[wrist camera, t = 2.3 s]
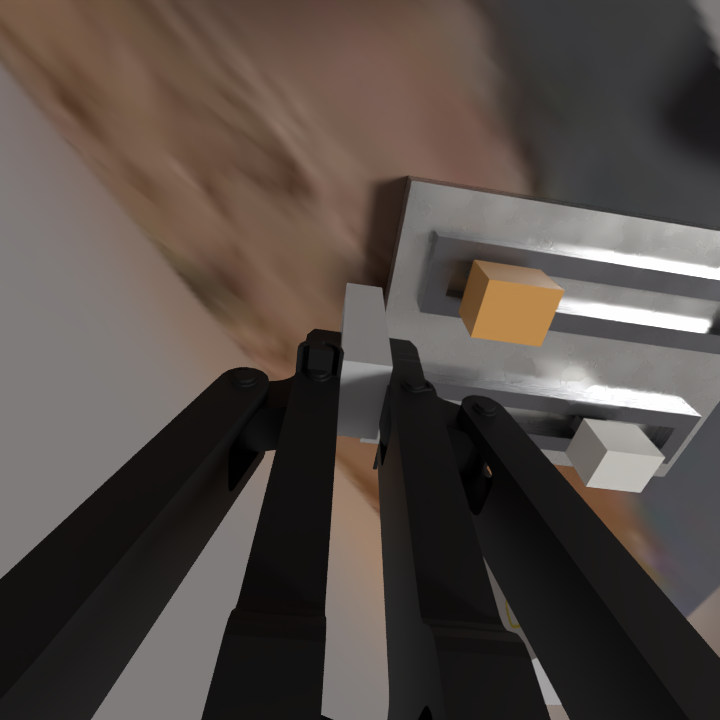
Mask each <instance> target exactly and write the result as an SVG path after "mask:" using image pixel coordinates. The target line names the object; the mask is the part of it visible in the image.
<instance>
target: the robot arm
mask: <svg viewBox="0 0 720 720" xmlns="http://www.w3.org/2000/svg"><path fill="white" fill-rule="evenodd" d="M379 430H380V440H379V444H378V449H377V453H376V457H375V462H374V466H373V469H377V466H378V480H379V500H380V520H381V537H382V558H383V577H384V578H383V579H384V598H385V616H386V617H385V618H386V638H387V657H388V678H389V711H388V719H387V720H551V719H550V716H549V713H548V710H547V707H546V704H545V701H544V697H543V694H542V691H541V688H540V685H539V682H538V679H537V675H536V672H535V669H534V666H533V663H532V660H531V657H530V655H529V652H528V650H527V647H526V645H525V643H524V641H523V640H522V639H521V638H520V636H519V635H518V634H517V633H514V632H511V631H508V630H507V629H506V628H505V627H504V625H503V623H502V620H501V618H500V615H499V611H498V607H497V604H496V600H495V597H494V593H493V590H492V586H491V583H490V579H489V576H488V572H487V569H486V565H485V562H484V559H485V561H486V563H487V564H488V566H489V568H490V570H491V572H492V574H493V576H494V578H495V580H496V581H497V583H498V585H499V587H500V589H501V591H502V593H503V595H504V596H505V598H506V600H507V602H508V604H509V606H510V608H511V610H512V612H513V613H514V615H515V617H516V619H517V621H518V623H519V625H520V627H521V628H522V630H523V632H524V634H525V636H526V638H527V640H528V642H529V644H530V645H531V647H532V649H533V651H534V653H535V655H536V657H537V659H538V660H539V662H540V664H541V666H542V668H543V670H544V672H545V674H546V676H547V677H548V679H549V681H550V683H551V685H552V687H553V689H554V691H555V692H556V694H557V696H558V698H559V700H560V702H561V704H562V706H563V708H564V709H565V711H566V713H567V715H568V717H569V719H570V720H720V658H719V657H718V655H717V654H716V653H715V652H714V651H713V650H712V649H711V647H710V646H709V645H708V644H707V643H706V642H705V640H704V639H703V638H702V637H701V636H700V635H699V634H698V632H697V631H696V630H695V629H694V628H693V626H692V625H691V624H690V623H689V622H688V621H687V619H686V618H685V617H684V616H683V615H682V614H681V612H680V611H679V610H678V609H677V608H676V607H675V606H674V604H673V603H672V602H671V601H670V600H669V599H668V597H667V596H666V595H665V594H664V593H663V592H662V590H661V589H660V588H659V587H658V586H657V585H656V583H655V582H654V581H653V580H652V579H651V578H650V576H649V575H648V574H647V573H646V572H645V571H644V570H643V568H642V567H641V566H640V565H639V564H638V563H637V561H636V560H635V559H634V558H633V557H632V556H631V554H630V553H629V552H628V551H627V550H626V549H625V547H624V546H623V545H622V544H621V543H620V542H619V540H618V539H617V538H616V537H615V536H614V535H613V534H612V532H611V531H610V530H609V529H608V528H607V527H606V525H605V524H604V523H603V522H602V521H601V520H600V518H599V517H598V516H597V515H596V514H595V513H594V511H593V510H592V509H591V508H590V507H589V506H588V504H587V503H586V502H585V501H584V500H583V499H582V498H581V496H580V495H579V494H578V493H577V492H576V491H575V489H574V488H573V487H572V486H571V485H570V484H569V482H568V481H567V480H566V479H565V478H564V477H563V475H562V474H561V473H560V472H559V471H558V470H557V468H556V467H555V466H554V465H553V464H552V463H551V462H550V460H549V459H548V458H547V457H546V456H545V455H544V453H543V452H542V451H541V450H540V449H539V448H538V446H537V445H536V444H535V443H534V442H533V441H532V439H531V438H530V437H529V436H528V435H527V434H526V432H525V431H524V430H523V429H522V428H521V427H520V426H519V424H518V423H517V422H516V421H515V420H514V419H513V417H512V416H511V415H510V414H509V413H508V412H507V410H506V409H505V408H504V407H503V406H502V405H500V404H499V403H498V402H496V401H494V400H492V399H491V398H488V397H485V396H479V395H471V396H466V397H465V398H463V399H462V402H461V405H459V404H455V403H452V402H449V401H446V400H444V399H441V398H440V397H438V396H437V393H436V389H435V388H434V386H433V384H431V383H430V382H429V381H428V380H426V379H425V377H424V373H423V369H422V365H421V363H420V358H419V354H418V350H417V347H416V346H415V345H414V344H413V343H412V342H411V341H409V340H402V339H395V338H389V335H388V328H387V320H386V313H385V306H384V299H383V292H382V288H381V287H374V286H367V285H360V284H353V283H347V285H346V292H345V299H344V306H343V313H342V321H341V328H340V332H335V331H328V330H320V329H314V330H312V331H311V332H310V333H309V334H307V338H306V341H304V342H302V343H300V345H299V346H298V351H297V363H296V373H295V375H294V376H292V377H290V378H288V379H285V380H279V381H269V379H268V376H267V375H266V374H265V373H264V372H262V371H260V370H257V369H255V368H249V367H239V368H234V369H231V370H228V371H226V372H225V373H223V374H222V375H221V376H220V377H219V378H218V379H216V380H215V381H214V382H213V383H212V384H211V385H210V386H209V387H208V388H207V389H206V390H204V391H203V392H202V393H201V394H200V395H199V396H198V397H197V398H196V399H195V400H194V401H192V402H191V403H190V404H189V405H188V406H187V407H186V408H185V409H184V410H183V411H182V412H181V413H180V414H178V416H176V417H175V418H174V419H173V420H172V421H171V422H170V423H169V424H168V425H167V426H165V427H164V428H163V429H162V430H161V431H160V432H159V433H158V434H157V435H156V436H155V437H154V438H152V439H151V440H150V441H149V442H148V443H147V444H146V445H145V446H144V447H143V448H142V449H141V450H140V451H138V452H137V454H135V455H134V456H133V457H132V458H131V459H130V460H129V461H128V462H127V463H126V464H124V465H123V466H122V467H121V468H120V469H119V470H118V471H117V472H116V473H115V474H114V475H113V476H112V477H110V478H109V479H108V480H107V481H106V482H105V483H104V484H103V485H102V486H101V487H100V488H99V489H97V491H95V492H94V493H93V494H92V495H91V496H90V497H89V498H88V499H87V500H85V502H83V503H82V504H81V505H80V506H79V507H78V508H77V509H76V510H75V511H74V512H73V513H72V514H70V515H69V516H68V517H67V518H66V519H65V520H64V521H63V522H62V523H61V524H60V525H58V527H57V528H55V529H54V530H53V531H52V532H51V533H50V534H49V535H48V536H47V537H46V538H44V539H43V540H42V541H41V542H40V543H39V544H38V545H37V546H36V547H35V548H34V549H33V550H31V551H30V552H29V553H28V554H27V555H26V556H25V557H24V558H23V559H22V560H21V561H20V562H19V563H17V565H15V566H14V567H13V568H12V569H11V570H10V571H9V572H8V573H7V574H6V575H5V576H3V577H2V578H1V579H0V720H91V718H92V717H93V715H94V714H95V712H96V711H97V709H98V708H99V706H100V705H101V703H102V702H103V700H104V699H105V697H106V696H107V694H108V692H109V691H110V690H111V688H112V687H113V685H114V684H115V682H116V680H117V679H118V678H119V676H120V674H121V673H122V671H123V670H124V669H125V667H126V665H127V664H128V662H129V661H130V659H131V658H132V656H133V655H134V653H135V652H136V650H137V649H138V647H139V646H140V644H141V643H142V641H143V640H144V638H145V637H146V635H147V634H148V632H149V631H150V629H151V628H152V626H153V624H154V623H155V622H156V620H157V618H158V617H159V615H160V614H161V612H162V611H163V609H164V608H165V606H166V605H167V603H168V602H169V600H170V599H171V597H172V596H173V594H174V593H175V591H176V590H177V588H178V587H179V585H180V584H181V582H182V581H183V579H184V577H185V576H186V575H187V573H188V572H189V570H190V568H191V567H192V565H193V564H194V562H195V561H196V559H197V558H198V556H199V555H200V553H201V552H202V550H203V549H204V547H205V546H206V544H207V543H208V541H209V540H210V538H211V537H212V535H213V534H214V532H215V531H216V529H217V527H218V526H219V525H220V523H221V522H222V520H223V518H224V517H225V515H226V514H227V512H228V511H229V509H230V508H231V506H232V505H233V503H234V502H235V500H236V499H237V497H238V495H239V494H240V493H241V491H242V490H243V488H244V487H245V485H246V484H247V482H248V480H249V479H250V478H251V476H252V475H253V473H254V471H255V470H256V468H257V467H258V465H259V464H260V462H261V461H262V459H263V458H264V455H265V451H270V450H276V452H275V456H274V460H273V464H272V468H271V472H270V476H269V480H268V484H267V488H266V492H265V496H264V500H263V504H262V508H261V512H260V516H259V520H258V524H257V528H256V532H255V536H254V540H253V544H252V548H251V552H250V557H249V560H248V563H247V567H246V572H245V576H244V579H243V583H242V587H241V591H240V596H239V599H238V602H237V605H236V608H235V609H233V610H232V611H231V614H230V616H229V618H228V622H227V625H226V628H225V632H224V635H223V639H222V643H221V647H220V650H219V654H218V658H217V662H216V666H215V670H214V673H213V678H212V681H211V685H210V688H209V692H208V696H207V700H206V704H205V708H204V711H203V715H202V719H201V720H333V719H330V718H327V717H325V716H323V715H321V706H322V691H323V690H322V689H323V675H324V659H325V642H326V617H325V600H326V585H327V571H328V556H329V541H330V527H331V512H332V497H333V483H334V468H335V453H336V439H337V435H339V436H347V437H356V438H365V439H373V440H377V436H378V432H379ZM487 466H489V468H490V470H491V473H492V475H491V474H490V473H489V471H488V470H487ZM483 557H484V558H483Z"/></svg>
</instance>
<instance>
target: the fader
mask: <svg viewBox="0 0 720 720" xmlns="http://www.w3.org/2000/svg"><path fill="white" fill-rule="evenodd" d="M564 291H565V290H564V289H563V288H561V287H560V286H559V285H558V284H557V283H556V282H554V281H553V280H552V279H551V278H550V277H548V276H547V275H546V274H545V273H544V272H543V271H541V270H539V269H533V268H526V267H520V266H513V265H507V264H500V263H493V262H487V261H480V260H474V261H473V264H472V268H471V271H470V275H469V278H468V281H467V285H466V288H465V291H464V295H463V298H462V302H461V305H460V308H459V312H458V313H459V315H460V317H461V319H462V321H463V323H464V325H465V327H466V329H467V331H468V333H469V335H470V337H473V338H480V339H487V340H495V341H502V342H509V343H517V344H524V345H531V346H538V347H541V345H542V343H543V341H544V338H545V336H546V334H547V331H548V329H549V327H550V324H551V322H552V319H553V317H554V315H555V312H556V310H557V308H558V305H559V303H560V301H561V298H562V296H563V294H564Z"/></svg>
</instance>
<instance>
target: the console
mask: <svg viewBox="0 0 720 720" xmlns="http://www.w3.org/2000/svg"><path fill="white" fill-rule="evenodd" d="M474 260H480V261H487V262H493V263H500V264H507V265H513V266H520V267H526V268H533V269H539V270H541V271H543V272H544V273H545V274H546V275H547V276H548V277H550V278H551V279H552V280H553V281H554V282H556V283H557V284H558V285H559V286H560V287H561V288H563V289H564V290H565V291H564V294H563V296H562V298H561V301H560V303H559V305H558V308H557V310H556V312H555V315H554V317H553V319H552V322H551V324H550V327H549V329H548V331H547V334H546V336H545V338H544V341H543V343H542V345H541V347H538V346H531V345H524V344H517V343H509V342H502V341H495V340H487V339H480V338H473V337H470V335H469V333H468V331H467V329H466V327H465V325H464V323H463V321H462V319H461V317H460V315H459V313H458V312H459V308H460V305H461V302H462V298H463V295H464V291H465V288H466V285H467V281H468V278H469V275H470V271H471V268H472V264H473V261H474ZM384 306H385V313H386V320H387V328H388V335H389V338H395V339H402V340H409V341H411V342H412V343H413V344H414V345H415V346H416V347H417V350H418V354H419V358H420V363H421V365H422V369H423V373H424V377H425V379H426V380H428V381H429V382H430V383H431V384H433V386H434V388H435V389H436V393H437V396H438V397H440V398H441V399H444V400H446V401H449V402H452V403H455V404H459V405H461V402H462V399H463V398H465V397H466V396H471V395H479V396H485V397H488V398H491V399H492V400H494V401H496V402H498V403H499V404H500V405H502V406H503V407H504V408H505V409H506V410H507V412H508V413H509V414H510V415H511V416H512V417H513V419H514V420H515V421H516V422H517V423H518V424H519V426H520V427H521V428H522V429H523V430H524V431H525V432H526V434H527V435H528V436H529V437H530V438H531V439H532V441H533V442H534V443H535V444H536V445H537V446H538V448H539V449H540V450H541V451H542V452H543V453H544V455H545V456H546V457H547V458H548V459H549V460H550V462H551V463H552V464H557V465H565V466H573V464H572V463H571V461H570V460H569V458H568V456H567V455H566V453H565V452H566V450H567V448H568V447H569V445H570V443H571V441H572V439H573V437H574V435H575V432H574V431H573V429H572V428H571V424H572V422H573V420H574V418H575V417H576V416H582V417H590V418H598V419H606V420H607V421H610V422H618V423H626V424H634V425H637V426H638V427H639V428H640V430H641V431H642V432H643V433H644V434H645V435H646V436H647V437H648V439H649V440H650V441H651V442H652V443H653V444H654V445H655V446H656V448H657V449H658V450H659V451H660V452H661V453H662V454H663V455H664V456H665V459H664V460H663V462H662V463H661V464H660V466H659V467H658V469H657V470H656V471H655V473H654V474H653V476H661V477H664V476H665V475H666V473H667V472H668V471H669V469H670V468H671V467H672V465H673V464H674V462H675V461H676V460H677V458H678V457H679V456H680V454H681V453H682V451H683V450H684V449H685V447H686V446H687V445H688V443H689V442H690V441H691V439H692V438H693V436H694V435H695V434H696V432H697V431H698V430H699V428H700V427H701V426H702V424H703V423H704V421H705V420H706V419H707V417H708V416H709V415H710V413H711V412H712V410H713V409H714V408H715V406H716V405H717V404H718V402H719V401H720V227H714V226H708V225H702V224H696V223H690V222H684V221H678V220H672V219H666V218H660V217H654V216H648V215H642V214H636V213H630V212H624V211H618V210H612V209H606V208H600V207H594V206H588V205H582V204H575V203H569V202H563V201H557V200H551V199H545V198H539V197H533V196H527V195H521V194H515V193H509V192H503V191H497V190H491V189H485V188H479V187H473V186H467V185H461V184H455V183H449V182H443V181H437V180H431V179H425V178H419V177H413V176H408V179H407V184H406V189H405V194H404V199H403V204H402V210H401V215H400V220H399V225H398V230H397V235H396V241H395V246H394V251H393V256H392V261H391V266H390V272H389V277H388V282H387V287H386V292H385V298H384ZM379 440H380V430H379V432H378V436H377V440H373V439H365V438H360V442H366V443H375V444H379Z"/></svg>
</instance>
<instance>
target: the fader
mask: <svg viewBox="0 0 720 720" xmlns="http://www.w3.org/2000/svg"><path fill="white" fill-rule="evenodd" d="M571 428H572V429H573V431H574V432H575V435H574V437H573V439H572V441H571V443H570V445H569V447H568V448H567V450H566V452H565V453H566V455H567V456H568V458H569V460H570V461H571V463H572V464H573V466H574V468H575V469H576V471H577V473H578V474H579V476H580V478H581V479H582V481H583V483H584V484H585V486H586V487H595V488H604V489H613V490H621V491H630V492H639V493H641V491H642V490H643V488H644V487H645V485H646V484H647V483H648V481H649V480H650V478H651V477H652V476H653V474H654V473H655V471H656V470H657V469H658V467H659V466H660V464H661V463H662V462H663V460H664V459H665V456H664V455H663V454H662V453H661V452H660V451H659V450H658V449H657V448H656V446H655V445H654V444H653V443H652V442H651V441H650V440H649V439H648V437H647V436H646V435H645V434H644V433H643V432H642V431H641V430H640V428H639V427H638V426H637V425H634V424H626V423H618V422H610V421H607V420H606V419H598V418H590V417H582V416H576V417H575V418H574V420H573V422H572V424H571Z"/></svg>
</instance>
